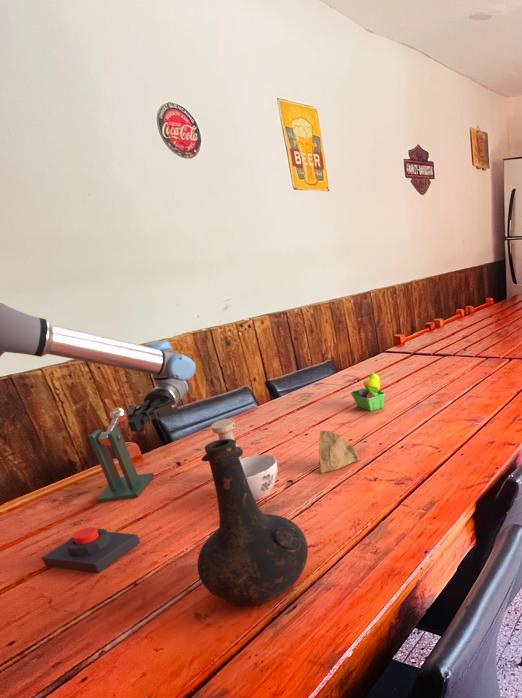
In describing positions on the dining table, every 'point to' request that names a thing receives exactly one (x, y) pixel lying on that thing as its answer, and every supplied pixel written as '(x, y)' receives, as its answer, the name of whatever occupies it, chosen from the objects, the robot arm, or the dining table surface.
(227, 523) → the glass bottle
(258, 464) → the teacup
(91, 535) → the button
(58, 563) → the control block
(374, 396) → the fruit basket
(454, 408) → the dining table surface
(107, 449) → the bracket
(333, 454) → the rock
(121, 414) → the lever
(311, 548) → the dining table surface
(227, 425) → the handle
